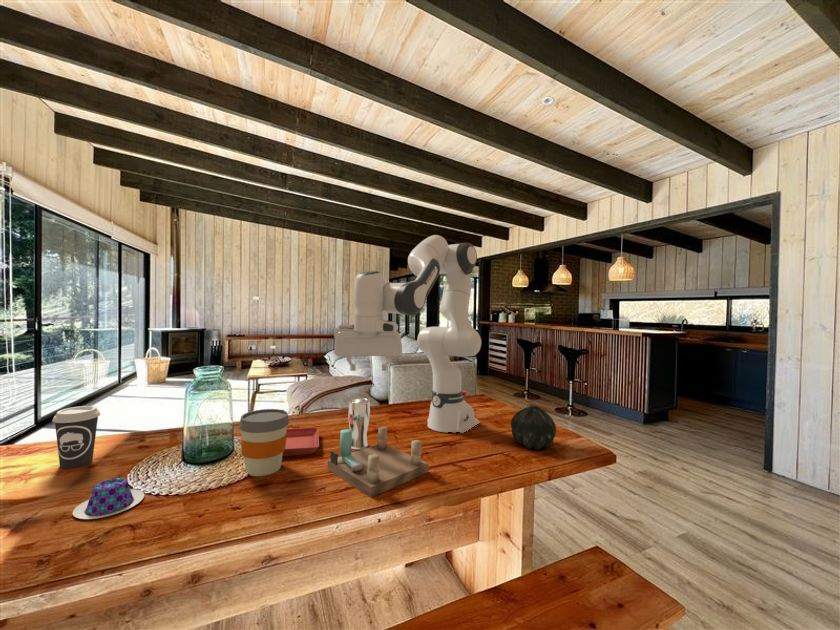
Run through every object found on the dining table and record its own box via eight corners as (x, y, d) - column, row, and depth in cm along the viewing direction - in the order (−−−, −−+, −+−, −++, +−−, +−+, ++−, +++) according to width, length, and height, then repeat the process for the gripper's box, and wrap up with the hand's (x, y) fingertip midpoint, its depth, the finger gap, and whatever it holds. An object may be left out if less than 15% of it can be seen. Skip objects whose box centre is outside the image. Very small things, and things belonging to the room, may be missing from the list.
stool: (383, 450, 113) (383, 424, 113) (428, 472, 99) (429, 442, 99) (327, 469, 99) (328, 439, 99) (370, 497, 85) (371, 462, 85)
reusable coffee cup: (256, 484, 90) (257, 425, 89) (228, 470, 96) (229, 416, 96) (297, 466, 100) (298, 413, 100) (269, 455, 107) (270, 406, 107)
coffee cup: (107, 459, 101) (108, 407, 100) (65, 474, 92) (65, 416, 91) (86, 454, 104) (87, 403, 104) (43, 467, 95) (43, 412, 95)
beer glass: (364, 451, 112) (365, 404, 112) (344, 449, 113) (345, 402, 113) (371, 443, 119) (373, 399, 119) (352, 441, 120) (353, 397, 120)
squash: (534, 419, 133) (518, 392, 127) (570, 433, 121) (554, 404, 115) (513, 449, 128) (495, 423, 122) (548, 466, 116) (530, 438, 110)
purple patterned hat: (104, 526, 72) (104, 500, 72) (56, 518, 74) (56, 493, 74) (157, 495, 84) (158, 473, 83) (115, 489, 86) (115, 468, 86)
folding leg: (364, 469, 93) (365, 441, 93) (353, 472, 91) (354, 443, 91) (348, 454, 102) (349, 428, 102) (337, 456, 101) (338, 430, 100)
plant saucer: (317, 435, 125) (318, 426, 125) (319, 456, 108) (319, 445, 108) (262, 439, 120) (263, 430, 120) (254, 462, 103) (254, 451, 103)
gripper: (331, 325, 102) (332, 372, 103) (402, 326, 104) (402, 372, 105) (335, 324, 109) (336, 368, 110) (402, 324, 110) (401, 367, 111)
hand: (368, 370), depth 107 cm, fingers open, 8 cm apart
